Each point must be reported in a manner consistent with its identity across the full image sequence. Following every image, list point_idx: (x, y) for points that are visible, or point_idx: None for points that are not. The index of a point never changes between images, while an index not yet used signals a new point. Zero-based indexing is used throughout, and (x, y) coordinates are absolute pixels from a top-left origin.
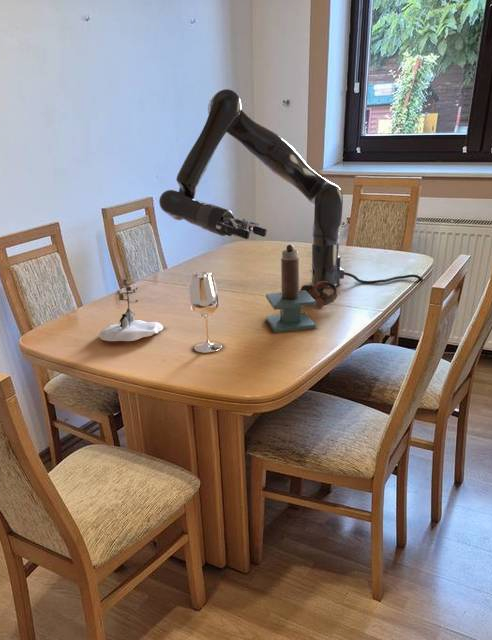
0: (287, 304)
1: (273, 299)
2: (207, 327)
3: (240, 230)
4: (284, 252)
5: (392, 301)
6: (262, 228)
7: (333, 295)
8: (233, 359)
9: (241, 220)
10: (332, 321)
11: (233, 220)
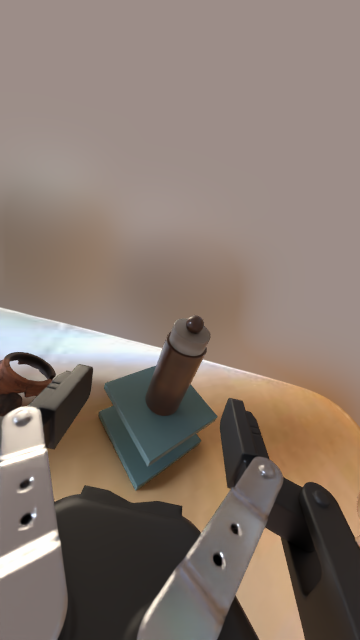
0: (200, 396)
1: (184, 429)
2: (355, 537)
3: (255, 443)
4: (206, 338)
5: (19, 313)
6: (83, 376)
7: (46, 362)
8: (313, 470)
9: (24, 539)
10: (122, 373)
11: (192, 577)
